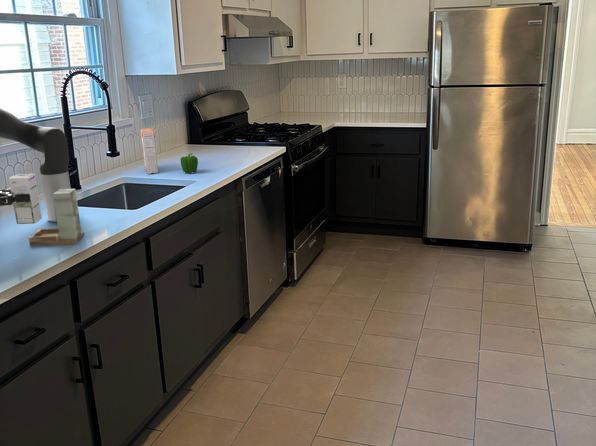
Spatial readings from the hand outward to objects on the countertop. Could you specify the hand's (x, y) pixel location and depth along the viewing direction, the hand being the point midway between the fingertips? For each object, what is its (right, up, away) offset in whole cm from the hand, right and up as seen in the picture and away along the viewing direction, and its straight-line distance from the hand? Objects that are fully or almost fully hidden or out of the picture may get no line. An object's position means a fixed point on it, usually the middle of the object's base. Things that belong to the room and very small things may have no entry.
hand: (33, 194), depth 177 cm
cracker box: (+7, +17, +115) cm, 117 cm away
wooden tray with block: (+2, -14, +12) cm, 19 cm away
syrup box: (-2, -8, +2) cm, 9 cm away
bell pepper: (+27, +16, +110) cm, 115 cm away
